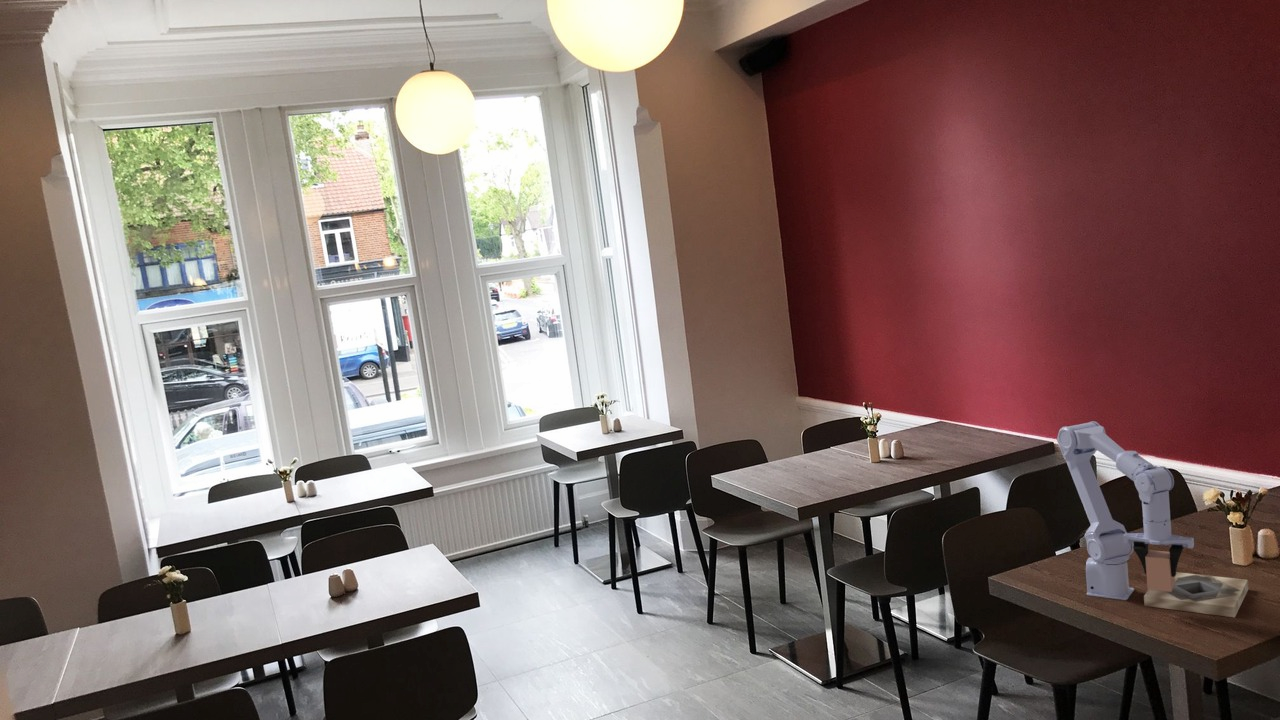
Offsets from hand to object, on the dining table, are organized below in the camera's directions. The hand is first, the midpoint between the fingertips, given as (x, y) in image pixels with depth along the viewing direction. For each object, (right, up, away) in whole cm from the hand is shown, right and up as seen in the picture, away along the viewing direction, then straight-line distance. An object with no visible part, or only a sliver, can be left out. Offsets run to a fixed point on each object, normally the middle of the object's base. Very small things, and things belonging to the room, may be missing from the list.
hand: (1160, 574), depth 227 cm
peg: (0, -3, 0) cm, 3 cm away
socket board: (+13, -8, +8) cm, 17 cm away
